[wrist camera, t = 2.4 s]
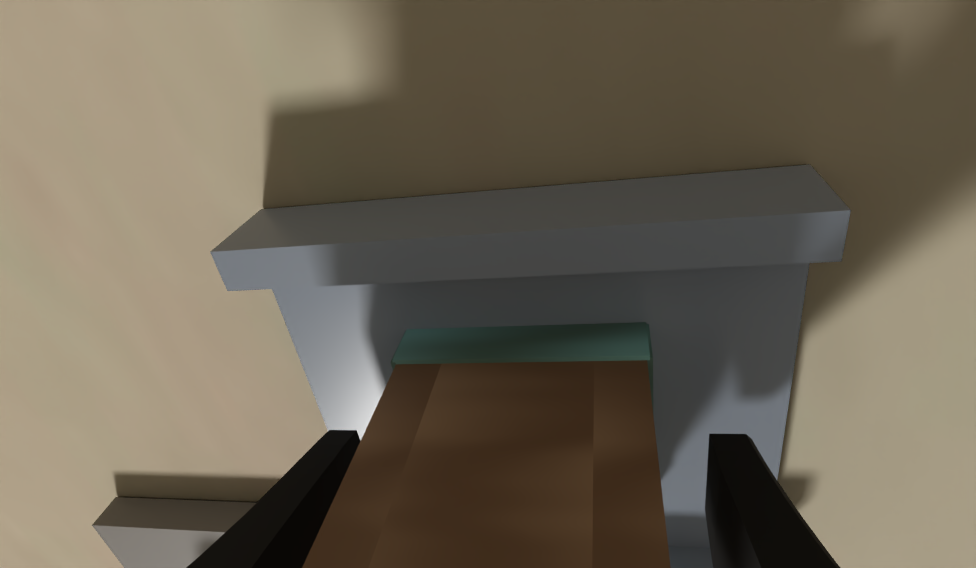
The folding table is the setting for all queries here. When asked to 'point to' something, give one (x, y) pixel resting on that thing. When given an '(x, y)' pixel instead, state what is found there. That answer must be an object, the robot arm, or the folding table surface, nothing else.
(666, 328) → the tray
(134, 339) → the folding table surface
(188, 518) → the pin board
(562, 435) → the walnut sleeve
